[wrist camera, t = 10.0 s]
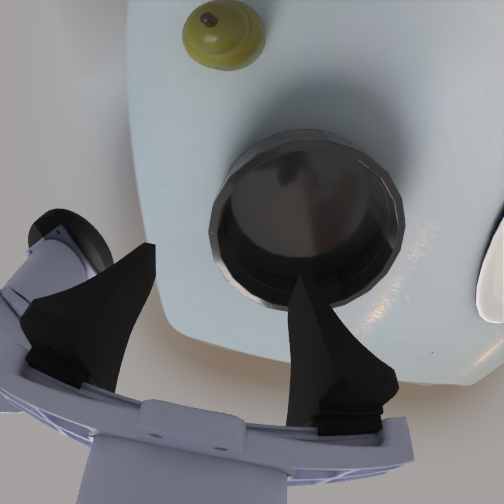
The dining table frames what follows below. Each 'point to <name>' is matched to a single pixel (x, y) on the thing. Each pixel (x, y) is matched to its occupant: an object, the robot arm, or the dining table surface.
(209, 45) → the pear
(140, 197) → the dining table surface
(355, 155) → the pan
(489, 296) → the plate
